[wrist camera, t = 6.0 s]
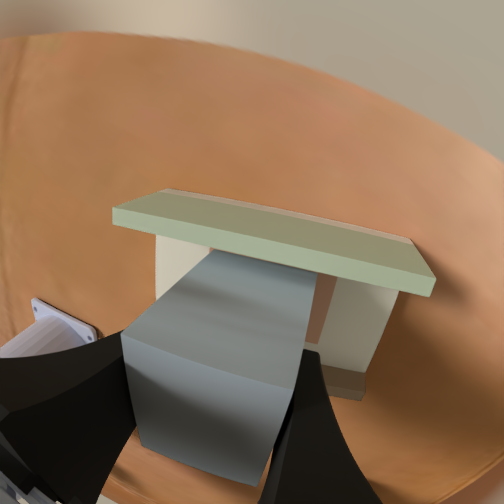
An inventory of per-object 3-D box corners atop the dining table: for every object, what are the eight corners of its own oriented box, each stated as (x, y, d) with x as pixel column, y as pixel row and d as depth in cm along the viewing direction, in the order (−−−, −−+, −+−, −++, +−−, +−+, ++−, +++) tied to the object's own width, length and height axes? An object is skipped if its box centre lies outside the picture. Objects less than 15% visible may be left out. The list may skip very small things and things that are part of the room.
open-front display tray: (360, 370, 16) (360, 430, 12) (164, 318, 18) (124, 361, 14) (409, 238, 13) (436, 278, 9) (168, 188, 15) (112, 207, 11)
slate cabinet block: (290, 372, 13) (256, 486, 8) (206, 349, 14) (141, 445, 8) (317, 272, 11) (293, 389, 6) (214, 248, 12) (120, 333, 6)
